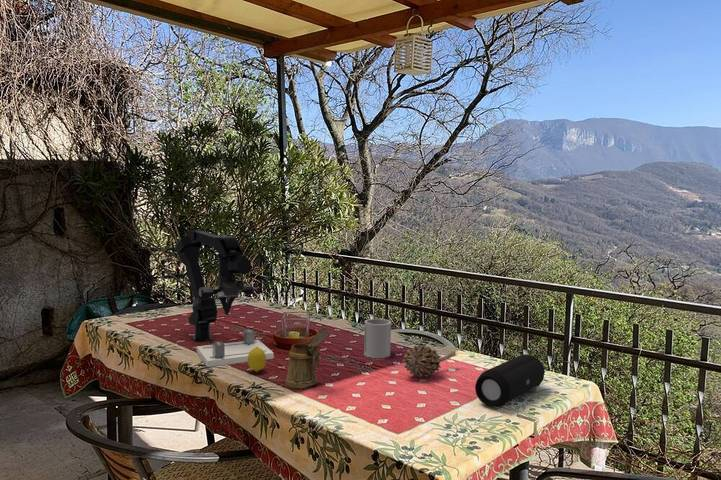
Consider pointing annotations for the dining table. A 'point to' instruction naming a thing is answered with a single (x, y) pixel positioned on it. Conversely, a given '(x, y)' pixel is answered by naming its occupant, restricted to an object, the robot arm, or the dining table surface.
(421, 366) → the pine cone
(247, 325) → the dining table surface
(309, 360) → the wooden mug
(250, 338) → the fader
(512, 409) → the dining table surface
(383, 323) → the cup
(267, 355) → the slotted white panel
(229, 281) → the robot arm
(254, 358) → the lemon
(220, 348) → the fader
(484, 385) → the portable speaker
